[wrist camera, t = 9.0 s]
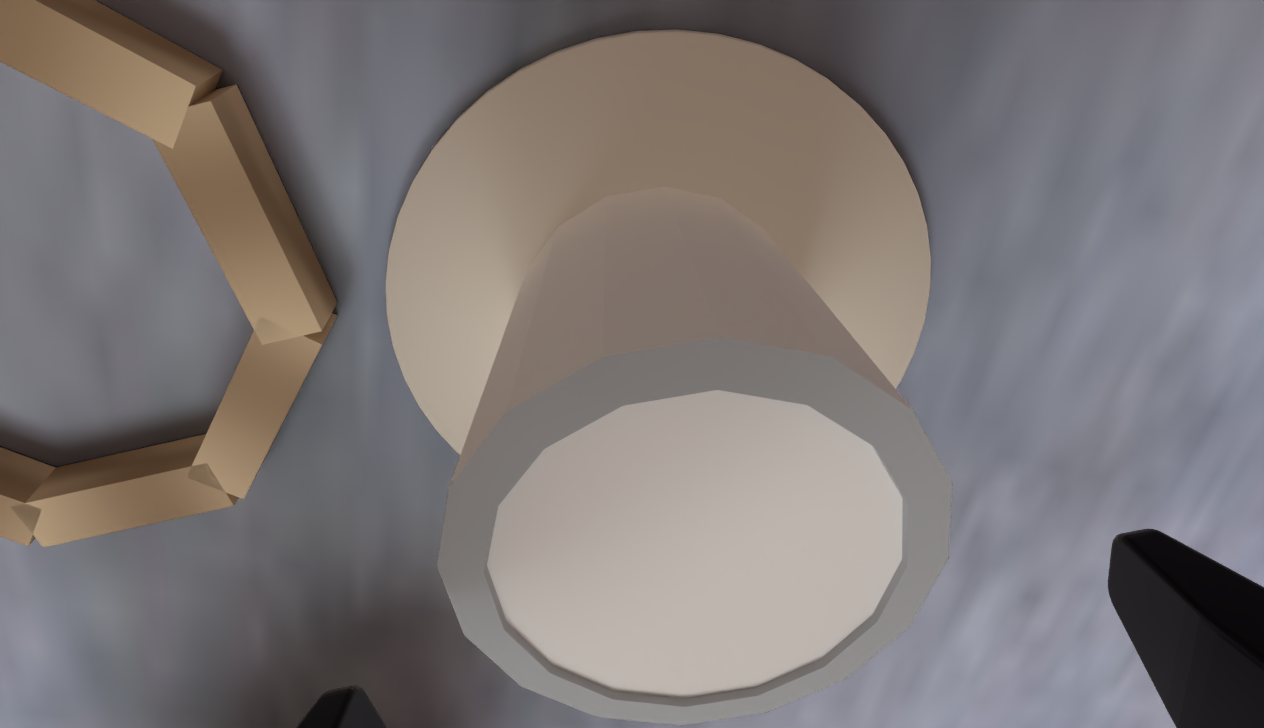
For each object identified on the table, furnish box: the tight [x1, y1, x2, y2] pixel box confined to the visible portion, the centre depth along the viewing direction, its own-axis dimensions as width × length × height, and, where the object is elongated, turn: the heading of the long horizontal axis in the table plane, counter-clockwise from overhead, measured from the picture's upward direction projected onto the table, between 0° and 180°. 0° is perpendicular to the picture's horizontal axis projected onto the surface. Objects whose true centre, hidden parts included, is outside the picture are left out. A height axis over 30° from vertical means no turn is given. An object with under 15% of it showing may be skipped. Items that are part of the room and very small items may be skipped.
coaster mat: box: [386, 29, 931, 455], centre depth 17 cm, size 11×11×1 cm
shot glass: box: [437, 187, 952, 726], centre depth 14 cm, size 7×7×7 cm
